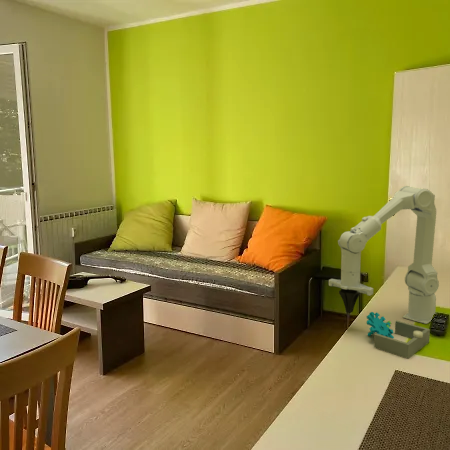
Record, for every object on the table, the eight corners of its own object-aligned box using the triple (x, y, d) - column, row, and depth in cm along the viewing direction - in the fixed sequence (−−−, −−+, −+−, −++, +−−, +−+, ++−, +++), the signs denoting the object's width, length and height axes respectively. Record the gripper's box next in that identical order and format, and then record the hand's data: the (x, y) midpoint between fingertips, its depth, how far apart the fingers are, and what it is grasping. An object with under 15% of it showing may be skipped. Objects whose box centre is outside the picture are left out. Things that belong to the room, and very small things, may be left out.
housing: (396, 332, 140) (397, 316, 139) (431, 342, 132) (432, 326, 131) (373, 347, 130) (374, 330, 129) (410, 359, 123) (411, 341, 122)
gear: (382, 343, 129) (363, 312, 134) (368, 352, 133) (350, 322, 137) (402, 337, 136) (384, 308, 141) (388, 346, 140) (370, 317, 144)
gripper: (323, 268, 143) (322, 309, 145) (365, 277, 132) (363, 321, 135) (335, 264, 147) (334, 303, 150) (377, 272, 137) (375, 315, 140)
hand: (349, 311), depth 143 cm, fingers closed
